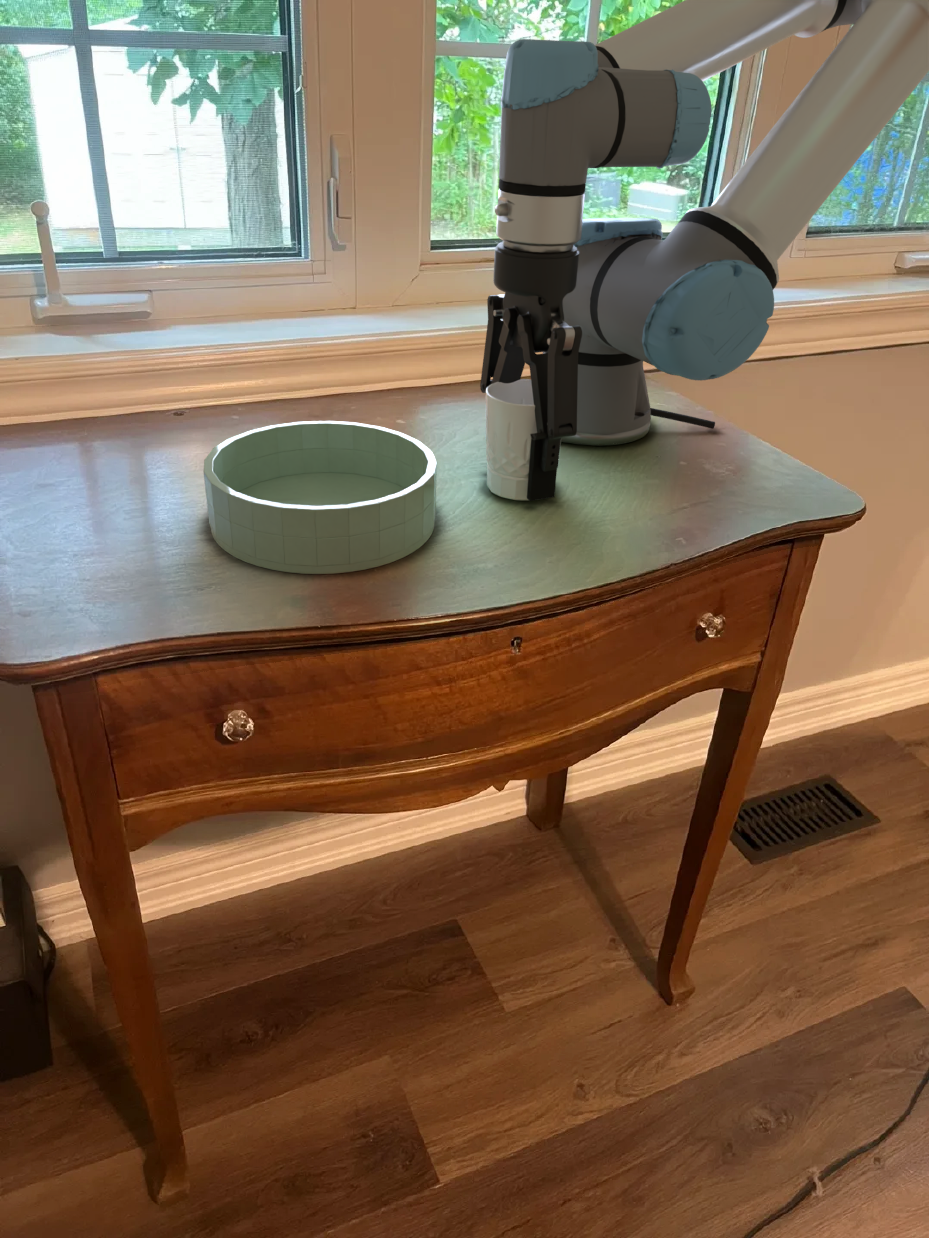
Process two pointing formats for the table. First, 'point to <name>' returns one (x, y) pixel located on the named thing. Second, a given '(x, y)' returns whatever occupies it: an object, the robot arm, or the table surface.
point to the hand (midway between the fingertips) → (520, 481)
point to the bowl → (321, 496)
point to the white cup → (509, 437)
